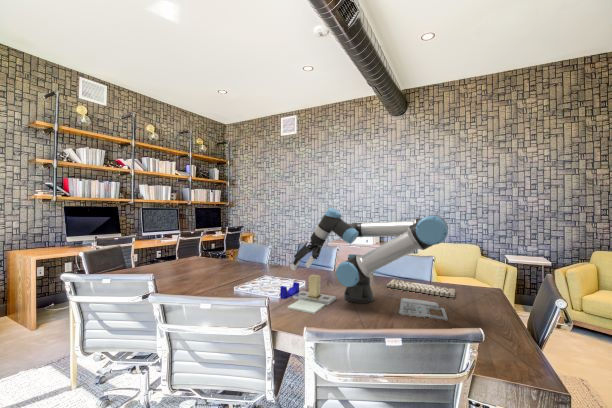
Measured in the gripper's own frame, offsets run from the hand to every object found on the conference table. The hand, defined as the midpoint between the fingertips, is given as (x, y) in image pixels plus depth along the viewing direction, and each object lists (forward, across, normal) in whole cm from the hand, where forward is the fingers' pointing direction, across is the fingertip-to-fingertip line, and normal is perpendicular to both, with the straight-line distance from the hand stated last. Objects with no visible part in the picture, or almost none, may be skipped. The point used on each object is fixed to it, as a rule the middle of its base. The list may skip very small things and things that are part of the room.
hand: (299, 267), depth 150 cm
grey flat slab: (-19, -21, +56) cm, 63 cm away
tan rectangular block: (+8, -3, +15) cm, 18 cm away
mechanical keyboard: (-16, -54, +48) cm, 75 cm away
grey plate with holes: (+8, -3, +15) cm, 18 cm away
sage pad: (+7, +9, +18) cm, 22 cm away
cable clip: (+17, 0, +3) cm, 17 cm away
